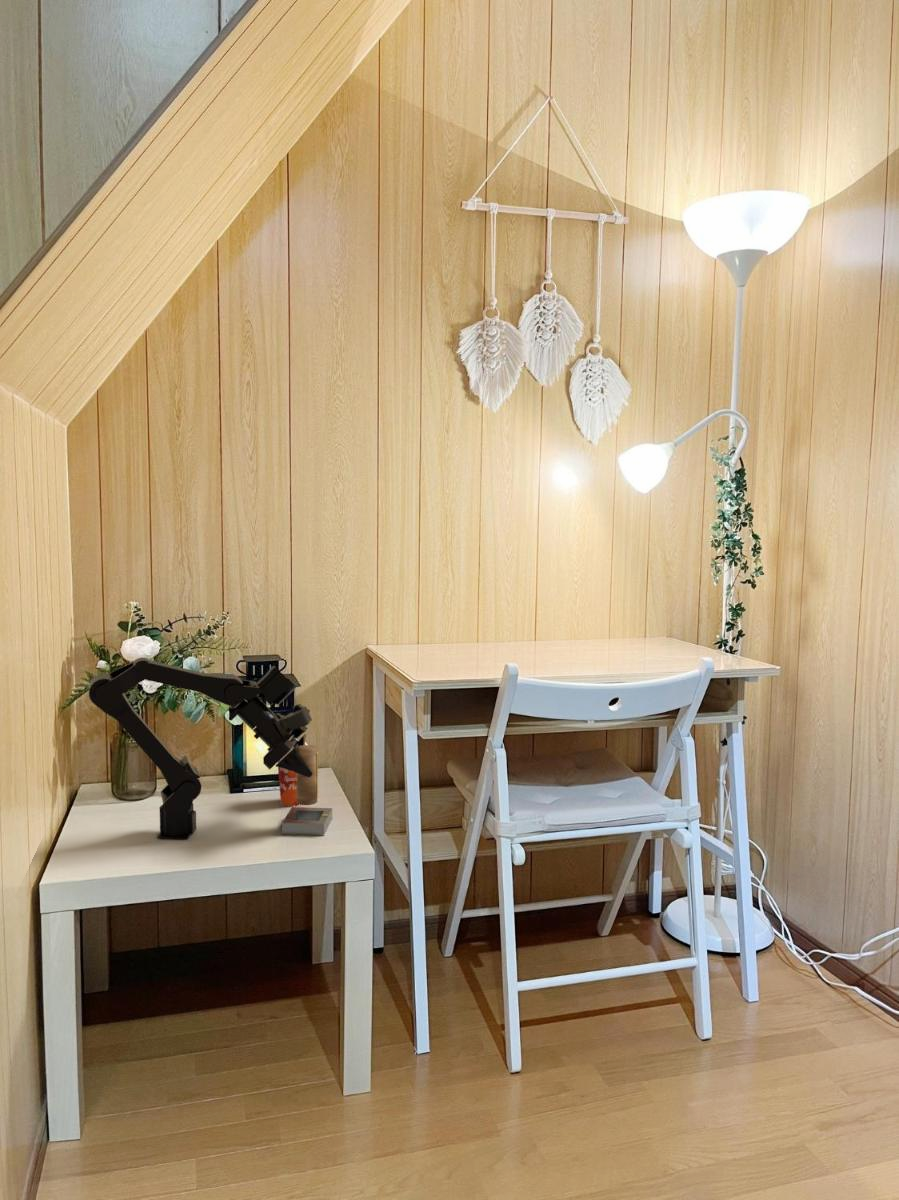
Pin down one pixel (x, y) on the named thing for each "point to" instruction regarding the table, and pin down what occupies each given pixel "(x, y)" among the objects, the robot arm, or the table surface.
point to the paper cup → (288, 786)
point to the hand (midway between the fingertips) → (313, 772)
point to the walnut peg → (308, 785)
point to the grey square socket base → (307, 821)
